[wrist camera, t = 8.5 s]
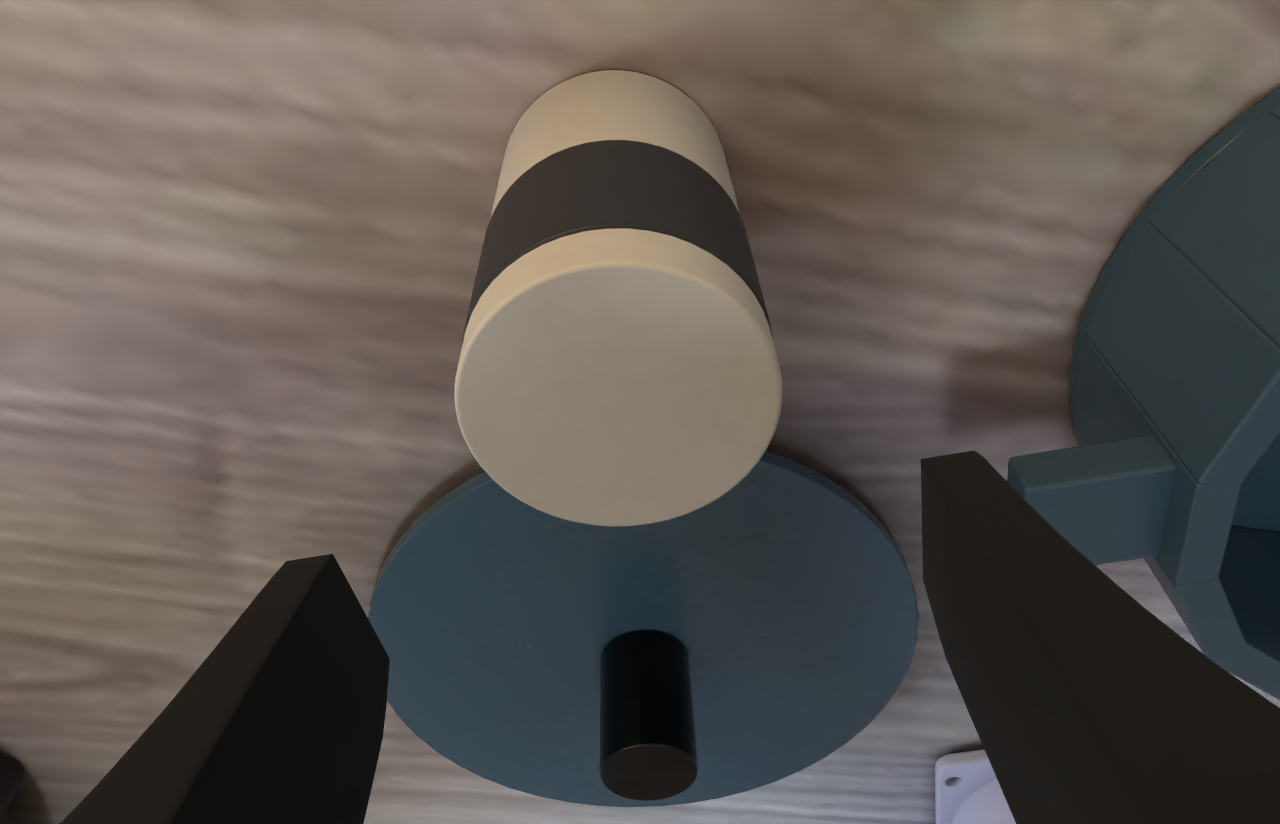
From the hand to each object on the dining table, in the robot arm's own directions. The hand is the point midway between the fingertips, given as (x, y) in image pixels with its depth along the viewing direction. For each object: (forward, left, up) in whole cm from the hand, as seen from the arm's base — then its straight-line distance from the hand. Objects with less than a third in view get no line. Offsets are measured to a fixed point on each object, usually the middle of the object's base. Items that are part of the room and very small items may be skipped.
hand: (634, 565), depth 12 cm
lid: (-12, +2, -9) cm, 15 cm away
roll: (+1, 0, -10) cm, 10 cm away
